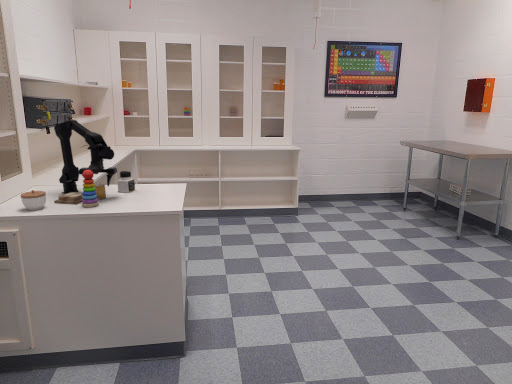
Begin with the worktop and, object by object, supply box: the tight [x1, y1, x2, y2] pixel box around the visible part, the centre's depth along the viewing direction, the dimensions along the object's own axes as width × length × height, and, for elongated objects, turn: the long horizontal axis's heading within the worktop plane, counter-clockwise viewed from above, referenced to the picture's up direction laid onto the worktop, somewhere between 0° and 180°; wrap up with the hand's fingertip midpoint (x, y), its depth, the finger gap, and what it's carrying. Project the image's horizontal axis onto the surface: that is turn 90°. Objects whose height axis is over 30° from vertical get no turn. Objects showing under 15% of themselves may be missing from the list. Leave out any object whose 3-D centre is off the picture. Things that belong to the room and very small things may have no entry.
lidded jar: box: [20, 189, 47, 211], centre depth 185 cm, size 11×11×9 cm
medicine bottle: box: [116, 170, 136, 194], centre depth 220 cm, size 7×7×12 cm
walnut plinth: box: [53, 191, 83, 205], centre depth 201 cm, size 13×13×3 cm
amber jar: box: [94, 182, 107, 200], centre depth 206 cm, size 5×5×8 cm
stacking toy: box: [81, 170, 100, 208], centre depth 189 cm, size 8×8×19 cm
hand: (99, 186), depth 205 cm, fingers open, 9 cm apart
